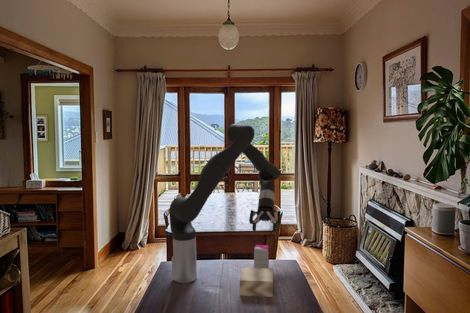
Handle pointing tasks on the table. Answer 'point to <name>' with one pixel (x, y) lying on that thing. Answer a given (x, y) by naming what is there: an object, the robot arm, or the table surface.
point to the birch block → (256, 282)
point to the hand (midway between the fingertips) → (264, 231)
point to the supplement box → (261, 256)
